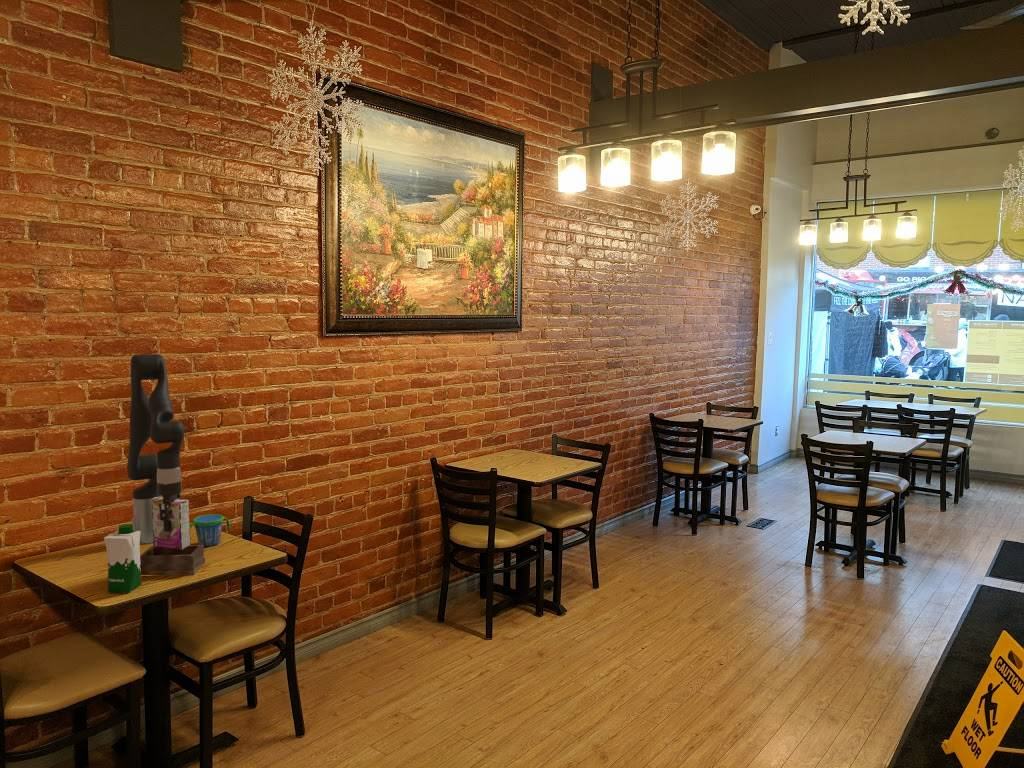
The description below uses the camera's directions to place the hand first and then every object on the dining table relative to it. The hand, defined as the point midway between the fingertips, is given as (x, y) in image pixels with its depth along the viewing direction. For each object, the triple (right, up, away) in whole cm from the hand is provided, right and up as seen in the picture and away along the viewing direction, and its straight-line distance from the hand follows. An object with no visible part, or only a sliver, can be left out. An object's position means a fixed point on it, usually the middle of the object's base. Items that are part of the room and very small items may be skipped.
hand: (171, 528), depth 249 cm
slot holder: (0, -14, +1) cm, 14 cm away
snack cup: (+1, -12, +28) cm, 31 cm away
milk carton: (-7, -16, -16) cm, 24 cm away
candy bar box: (0, -7, +1) cm, 7 cm away
